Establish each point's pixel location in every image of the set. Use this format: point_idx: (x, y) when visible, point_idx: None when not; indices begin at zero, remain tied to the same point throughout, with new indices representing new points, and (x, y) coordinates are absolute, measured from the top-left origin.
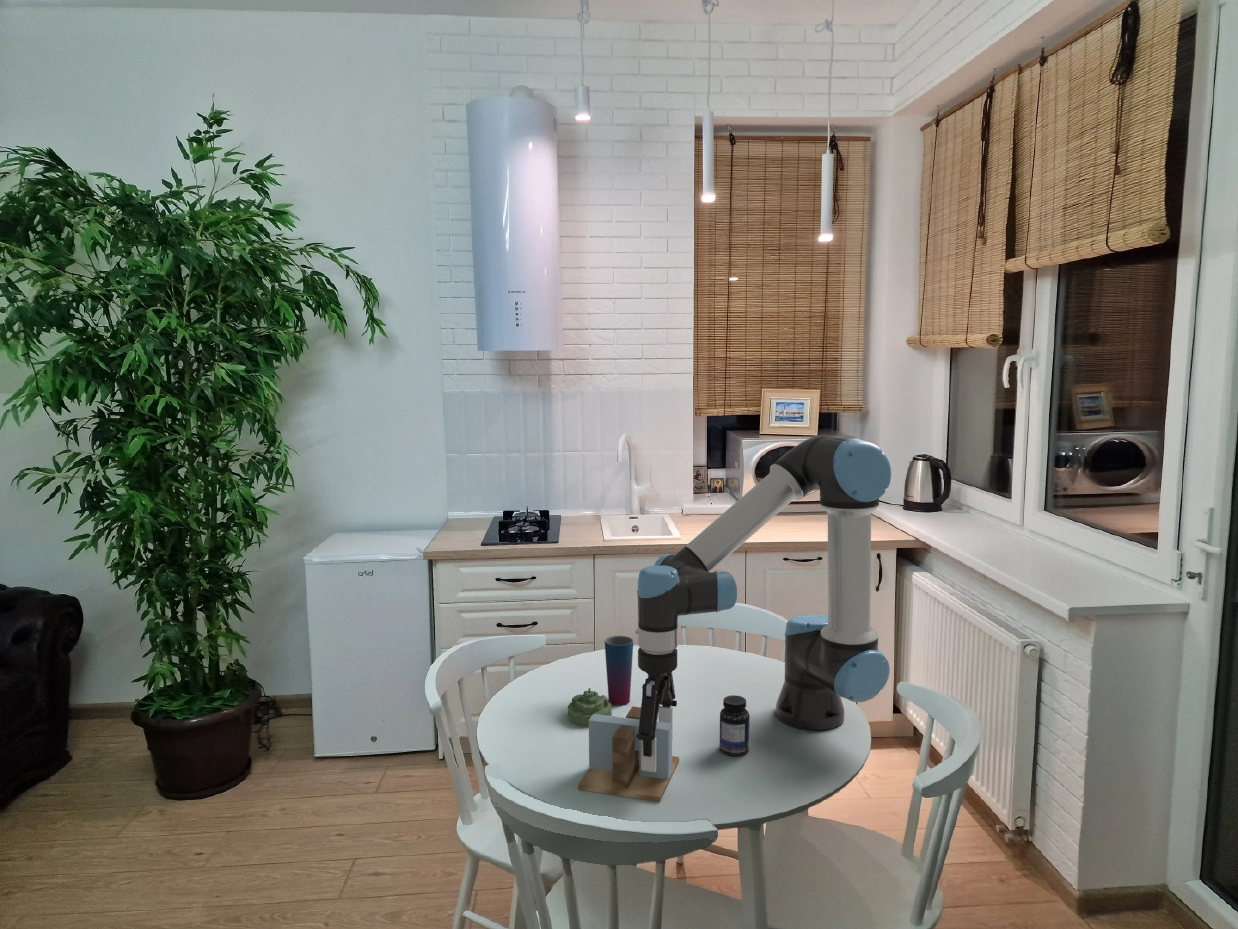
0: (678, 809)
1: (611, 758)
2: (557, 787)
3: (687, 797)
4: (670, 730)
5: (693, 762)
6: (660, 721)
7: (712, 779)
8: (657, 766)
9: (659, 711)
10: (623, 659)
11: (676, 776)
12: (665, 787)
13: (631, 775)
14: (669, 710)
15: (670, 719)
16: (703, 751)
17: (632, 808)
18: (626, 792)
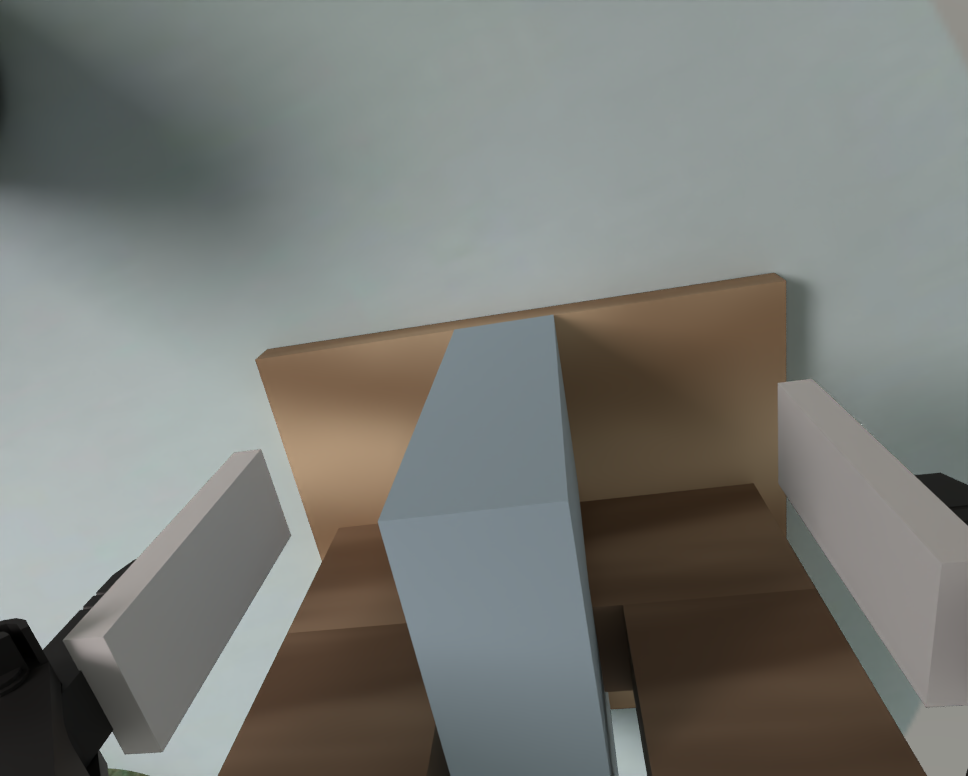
0: (825, 128)
1: None
2: None
3: (655, 131)
4: (470, 485)
5: (223, 265)
6: (226, 620)
7: (355, 58)
8: (566, 414)
9: (180, 707)
10: None
11: (435, 298)
12: (630, 300)
13: (678, 517)
14: (127, 643)
15: (178, 564)
16: (63, 259)
17: (886, 391)
18: None
